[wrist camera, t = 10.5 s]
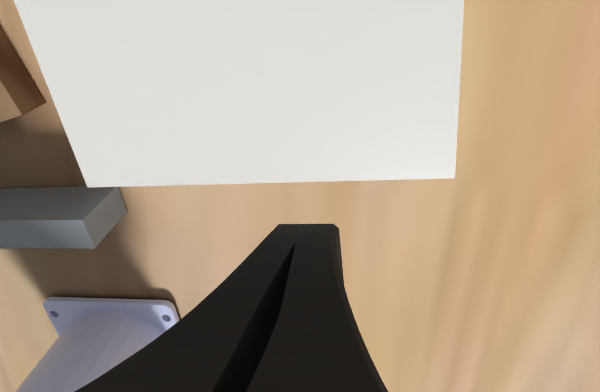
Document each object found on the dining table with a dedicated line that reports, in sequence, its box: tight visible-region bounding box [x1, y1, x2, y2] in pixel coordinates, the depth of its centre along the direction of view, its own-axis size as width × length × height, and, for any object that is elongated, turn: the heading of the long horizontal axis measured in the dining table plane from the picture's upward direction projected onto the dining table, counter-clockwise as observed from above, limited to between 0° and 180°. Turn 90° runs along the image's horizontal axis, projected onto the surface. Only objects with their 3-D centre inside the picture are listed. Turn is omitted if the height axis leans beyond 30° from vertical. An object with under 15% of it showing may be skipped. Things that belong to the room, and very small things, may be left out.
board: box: [14, 0, 464, 187], centre depth 16 cm, size 12×15×2 cm
